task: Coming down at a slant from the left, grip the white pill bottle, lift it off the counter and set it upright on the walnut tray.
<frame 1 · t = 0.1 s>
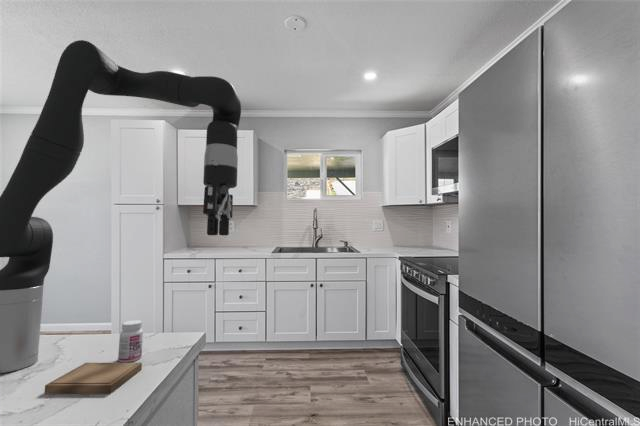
hand: (218, 235, 71), 29 cm above the counter, tool pointing down, fingers open, 8 cm apart
walnut tray: (97, 380, 61), on the counter
pill bottle: (130, 359, 72), on the counter
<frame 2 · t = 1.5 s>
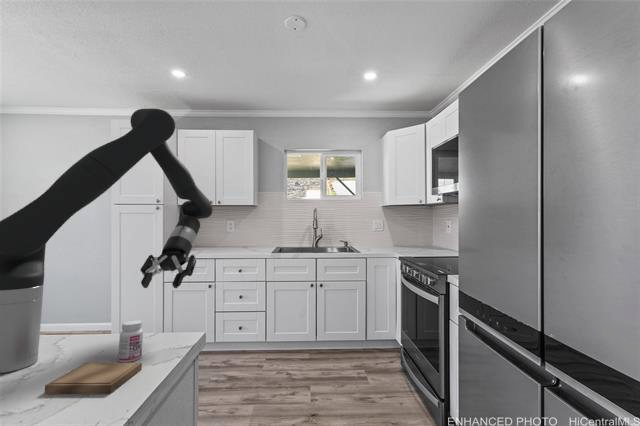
hand: (159, 286, 84), 15 cm above the counter, tool tilted 45°, fingers open, 8 cm apart
nothing on the counter moved.
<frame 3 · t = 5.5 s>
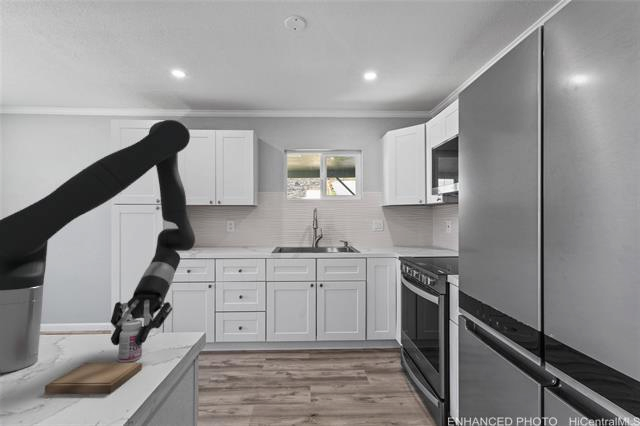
hand: (126, 343, 70), 4 cm above the counter, tool tilted 45°, fingers closed on pill bottle, 4 cm apart
pill bottle: (130, 359, 72), on the counter, touching gripper
when the fingers open (7 cm above the counter, at t = 9.7 s): pill bottle drops 1 cm, resting on walnut tray.
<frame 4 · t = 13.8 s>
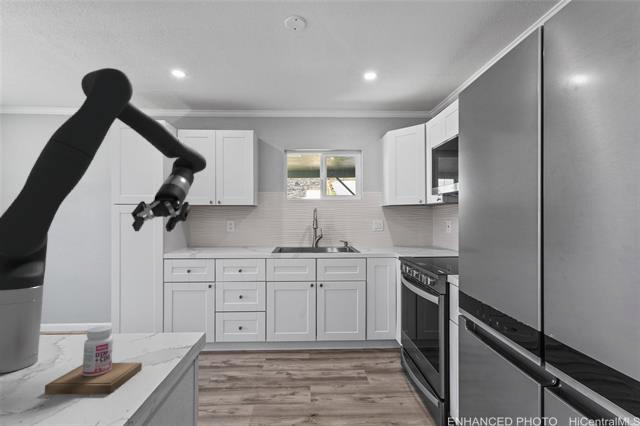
hand: (151, 229, 81), 31 cm above the counter, tool tilted 45°, fingers open, 8 cm apart
pill bottle: (97, 372, 61), point 1 cm above the counter, touching walnut tray
at the end: pill bottle inside the target area on the walnut tray (0.3 cm from its centre), point 1.5 cm above the walnut tray's base; pill bottle tilted 0°; the gripper is holding nothing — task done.
